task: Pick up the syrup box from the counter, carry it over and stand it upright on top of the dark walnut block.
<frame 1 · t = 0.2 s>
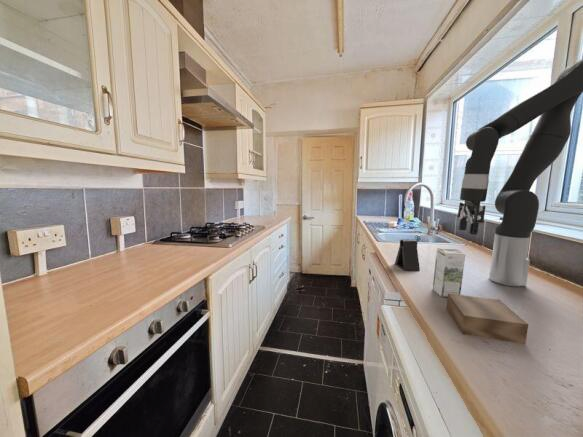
hand: (467, 232, 89), 18 cm above the counter, tool pointing down, fingers open, 8 cm apart
syrup box: (445, 294, 78), on the counter
phone stand: (406, 267, 103), on the counter
walnut block: (480, 325, 61), on the counter
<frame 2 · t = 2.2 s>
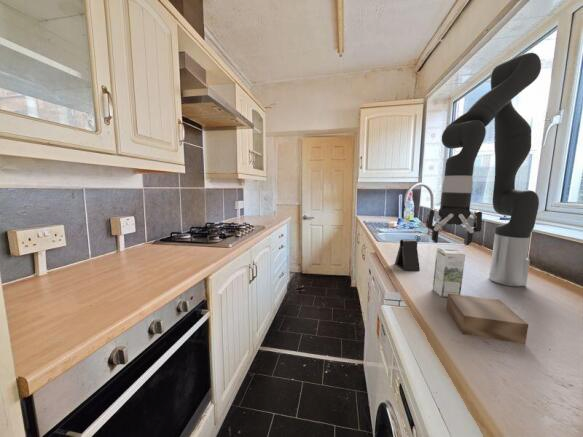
hand: (450, 243, 76), 17 cm above the counter, tool pointing down, fingers open, 8 cm apart
nothing on the counter moved.
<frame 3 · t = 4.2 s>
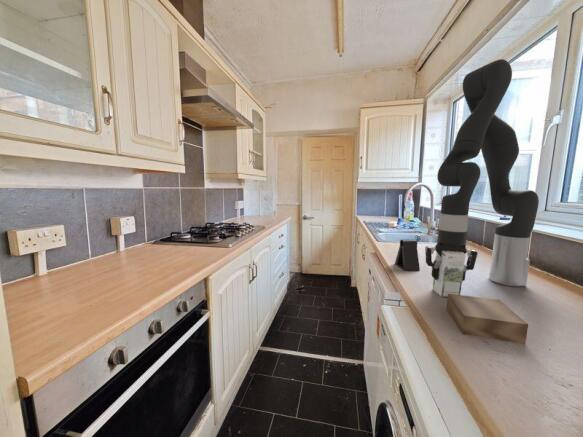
hand: (447, 280, 77), 5 cm above the counter, tool pointing down, fingers closed on syrup box, 6 cm apart
syrup box: (445, 294, 78), on the counter, touching gripper
everything else where it was.
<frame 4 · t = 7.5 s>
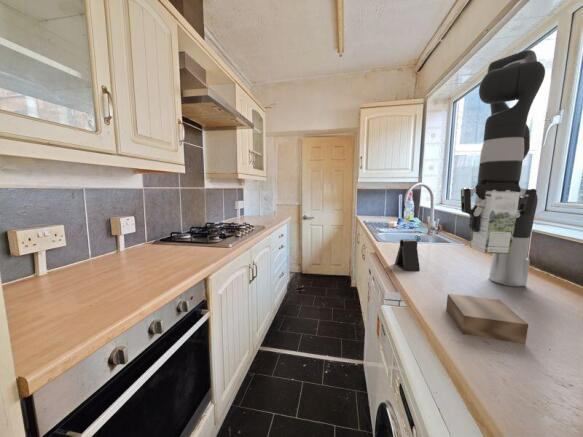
hand: (491, 232, 58), 24 cm above the counter, tool pointing down, fingers closed on syrup box, 6 cm apart
syrup box: (489, 251, 58), point 19 cm above the counter, touching gripper
everything else where it was.
when the fingers open (11 cm above the counter, at t = 10.8 s): syrup box drops 1 cm, resting on walnut block.
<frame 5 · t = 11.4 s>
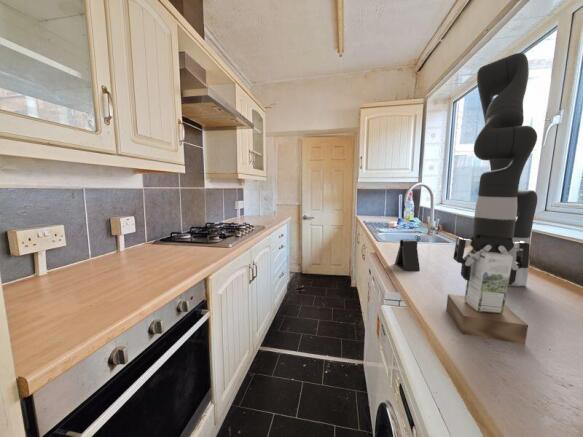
hand: (486, 281, 59), 11 cm above the counter, tool pointing down, fingers open, 8 cm apart
syrup box: (482, 308, 60), point 4 cm above the counter, touching walnut block
walnut block: (480, 326, 61), on the counter, touching syrup box
everything else where it was.
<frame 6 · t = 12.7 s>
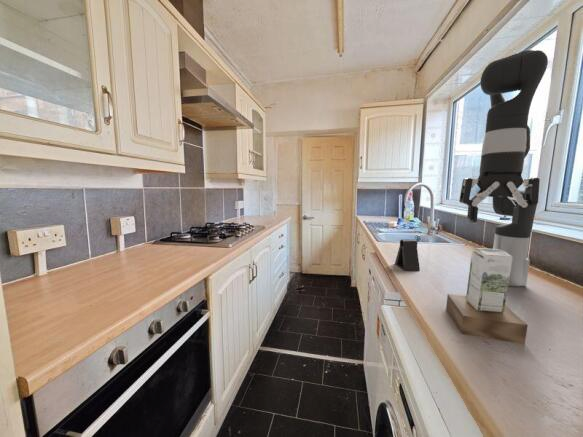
hand: (493, 222, 57), 26 cm above the counter, tool pointing down, fingers open, 8 cm apart
syrup box: (484, 307, 60), point 4 cm above the counter
walnut block: (480, 326, 61), on the counter
everything else where it was.
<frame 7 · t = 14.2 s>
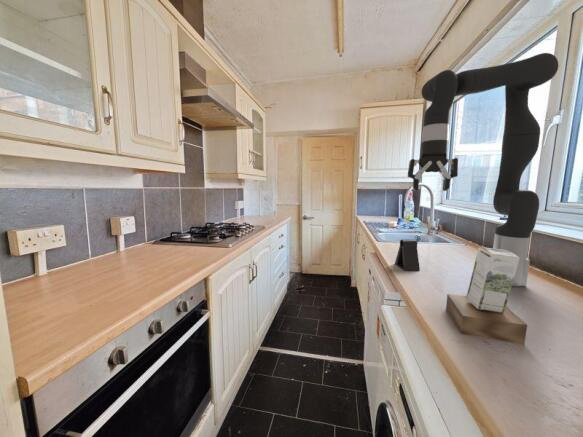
hand: (430, 190, 81), 33 cm above the counter, tool pointing down, fingers open, 8 cm apart
syrup box: (484, 306, 60), point 5 cm above the counter, touching walnut block
walnut block: (480, 326, 61), on the counter, touching syrup box
everything else where it was.
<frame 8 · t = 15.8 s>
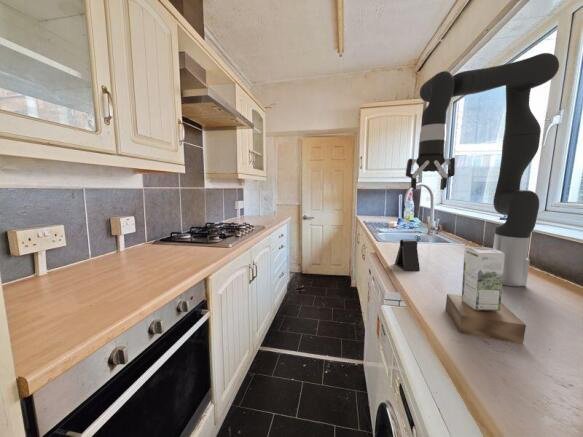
hand: (427, 189, 83), 33 cm above the counter, tool pointing down, fingers open, 8 cm apart
at the end: syrup box inside the target area on the walnut block (0.3 cm from its centre), point 5.0 cm above the walnut block's base; syrup box tilted 3°; the gripper is holding nothing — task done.
